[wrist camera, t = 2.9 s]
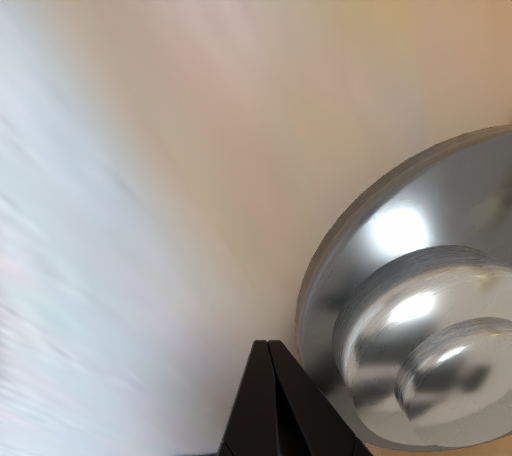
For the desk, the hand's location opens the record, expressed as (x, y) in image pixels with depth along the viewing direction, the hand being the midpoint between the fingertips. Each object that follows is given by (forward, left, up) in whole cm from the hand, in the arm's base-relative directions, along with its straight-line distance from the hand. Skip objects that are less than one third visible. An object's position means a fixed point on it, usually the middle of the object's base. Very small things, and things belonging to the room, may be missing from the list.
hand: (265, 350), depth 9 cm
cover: (0, -6, -1) cm, 6 cm away
